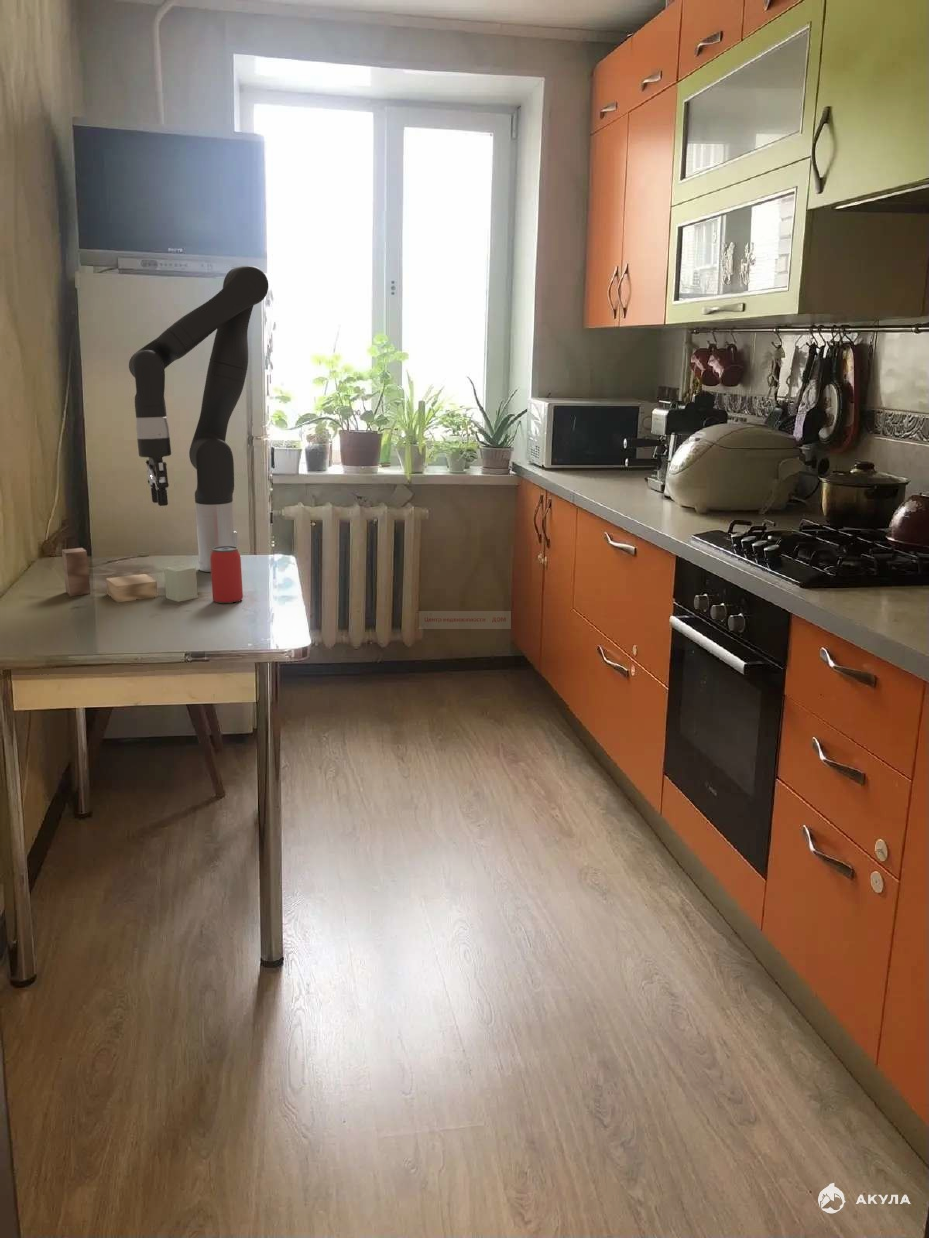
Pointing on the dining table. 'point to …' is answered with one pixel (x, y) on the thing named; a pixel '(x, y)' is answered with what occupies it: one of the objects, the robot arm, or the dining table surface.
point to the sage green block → (180, 582)
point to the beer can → (226, 574)
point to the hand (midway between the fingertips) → (160, 504)
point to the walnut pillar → (76, 571)
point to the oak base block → (131, 587)
